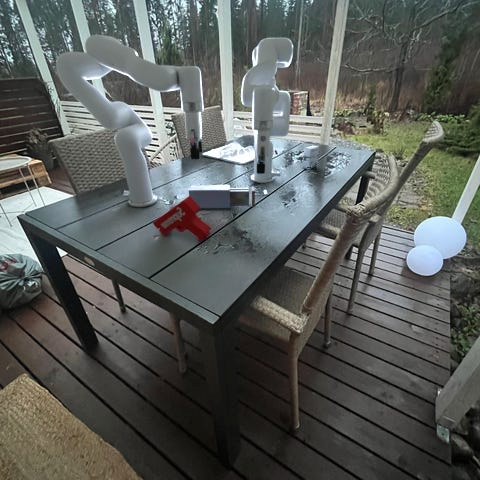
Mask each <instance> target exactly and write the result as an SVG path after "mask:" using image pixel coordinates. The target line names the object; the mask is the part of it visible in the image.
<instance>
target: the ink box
mask: <svg viewBox="0 0 480 480" xmlns="http://www.w3.org/2000/svg"><path fill="white" fill-rule="evenodd" d="M319 150H320V146H319V145H313V144H311V145H309V146H306V147H304V149H303V158H302V165H301V168H302V169H306V170H311V169H313V168H316V167H317V165H318V159H319ZM316 164H317V165H316ZM314 165H316V166H314ZM303 166H305V167H303ZM311 166H313V167H311ZM307 167H311V168H307Z"/></svg>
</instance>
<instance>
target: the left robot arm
mask: <svg viewBox="0 0 480 480" xmlns="http://www.w3.org/2000/svg"><path fill="white" fill-rule="evenodd" d="M84 47H85V51H86V52H83V51H82V52H81V51H66V52H62V53H60V54H59V55H58V56H57V58H56V61H55V68H56V73H57V76H58V79H59V81H60V82H61V84H62V86H63V87H64V88H65V90H67V92H68V93H70V95H72V96H73V97H74V98H75V99H76V101H78V102H79V103H80V104H81V105H82V106H83V107H84V109H85V110H86V111H87V112H88V113H89V114H90V115H91V116H92V117H93V118H94V119H95V120H96V121H97V123H98V124H100V126H101V127H103V128H104V129H106V130H107V131H113V130H115V131H116V130H118V129H119V130H118V131H117V132H116V133H115V135H114V145H115V147H116V150H117V151H118V154H119V156H120V159H121V162H122V167H123V170H124V175H125V179H126V184H127V187H128V190H124V191H123V194H122V196H123V197H124V198H128V200H127V202H128V205H129V206H131V207H135V208H142V207H149V206H152V205H154V204H156V203H157V201H158V196H157V195H156V194H154V192H153V188H152V183H151V178H150V172H149V167H148V163H147V162H148V161H147V159H146V157H145V155H144V152H143V151H142V149H144V148H146V147H149V146H150V144H151V143H152V141H153V133H152V131H151V129H150V127H149V126H148V125H147V124H146V123H145V121H143V119H142V118H141V117H140V115H139V114H138V113H137V112H136V111H135V110H134V109H133V108H132V107H131V106H130V105H129V104H128V103H126V102H125V101H121V100H120V101H111V100H109V99H108V98H107V97H106V96H105V94H103V93H102V92H101V90H100V89H98V88H97V87H96V86H95V85H93V84H92V83H90V82H89V81H88V80H96V79H101V78H103V77H105V76H106V75H107V74H109V73H110V72H112V71H116V72H118V73H120V74H122V75H125V76H128V77H129V78H130V79H131V80H133V81H134V82H136V84H139V85H141V86H143V87H146V88H149V89H151V90H153V91H156V92H158V93H159V92H160V93H167V92H173V91H178V90H179V91H180V93H179V94H180V101H181V111H182V113H184V124H185V125H184V126H185V138H186V142H188V143H189V152H190V159H191V160H200V158H201V156H200V153H203V142H202V137H203V127H202V126H203V125H202V115H201V113H203V112H204V99H203V86H202V73H201V69H200V67H198V66H197V65H181V66H179V65H178V66H177V65H168V64H164V65H162V64H161V65H160V64H157V63H154V62H151V61H149V60H147V59H145V58H142V57H141V56H139V54H138V52H137V51H136V49H134V48H133V47H130V46H129V45H125V44H123V43H122V42H121V41H120V40H118V38H116V37H114V36H110V35H103V34H92V35H90V36H88V38H87V39H86V40H85V45H84Z"/></svg>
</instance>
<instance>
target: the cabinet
mask: <svg viewBox="0 0 480 480" xmlns="http://www.w3.org/2000/svg"><path fill="white" fill-rule="evenodd" d="M230 188H231V186H230V184H190V185H189V188H188V196H191V198H192V199H193V200H194V201H195V202H196V203H197V204H198V205H199V207H200V211H230V210H231V206H230Z"/></svg>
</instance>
